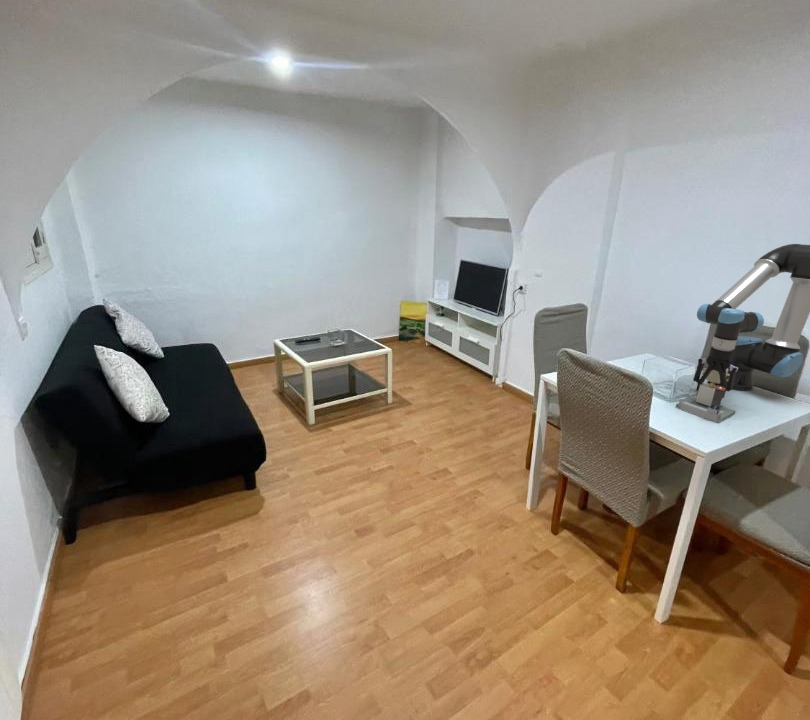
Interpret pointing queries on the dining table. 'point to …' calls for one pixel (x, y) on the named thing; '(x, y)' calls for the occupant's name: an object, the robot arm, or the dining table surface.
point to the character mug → (714, 376)
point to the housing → (706, 394)
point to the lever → (716, 400)
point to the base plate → (704, 410)
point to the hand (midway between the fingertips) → (707, 401)
